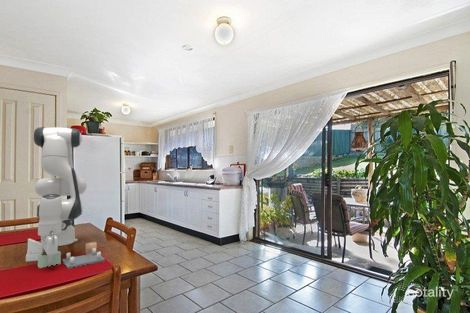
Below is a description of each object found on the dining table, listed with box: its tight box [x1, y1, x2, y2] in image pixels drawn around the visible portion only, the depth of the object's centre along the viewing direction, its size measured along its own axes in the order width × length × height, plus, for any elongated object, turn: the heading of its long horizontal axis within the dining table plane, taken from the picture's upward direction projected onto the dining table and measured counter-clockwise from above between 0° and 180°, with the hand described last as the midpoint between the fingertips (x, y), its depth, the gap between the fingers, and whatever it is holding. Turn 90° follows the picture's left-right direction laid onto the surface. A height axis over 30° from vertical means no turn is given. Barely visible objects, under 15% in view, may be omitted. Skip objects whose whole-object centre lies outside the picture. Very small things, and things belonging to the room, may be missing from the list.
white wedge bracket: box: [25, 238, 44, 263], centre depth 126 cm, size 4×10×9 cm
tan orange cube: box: [85, 241, 98, 255], centre depth 137 cm, size 5×5×5 cm
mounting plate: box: [61, 248, 106, 270], centre depth 124 cm, size 13×15×4 cm
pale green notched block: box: [37, 250, 62, 269], centre depth 120 cm, size 5×8×6 cm, turn 133°
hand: (48, 260), depth 119 cm, fingers closed on pale green notched block, 5 cm apart
